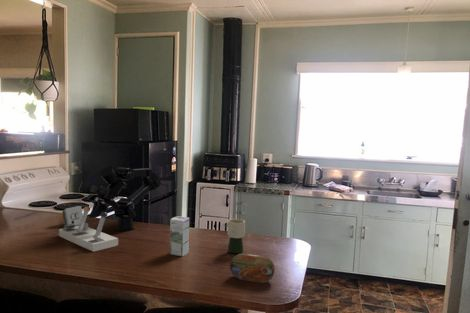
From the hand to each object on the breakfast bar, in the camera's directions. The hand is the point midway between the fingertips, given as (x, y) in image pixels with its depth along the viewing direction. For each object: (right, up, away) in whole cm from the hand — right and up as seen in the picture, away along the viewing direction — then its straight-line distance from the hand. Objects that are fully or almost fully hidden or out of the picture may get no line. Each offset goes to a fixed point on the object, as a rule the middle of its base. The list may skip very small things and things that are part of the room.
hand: (90, 217), depth 155 cm
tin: (+70, -14, -38) cm, 81 cm away
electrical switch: (-18, -8, +22) cm, 29 cm away
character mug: (+64, -13, -12) cm, 66 cm away
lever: (+8, -6, -12) cm, 16 cm away
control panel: (0, -10, -2) cm, 10 cm away
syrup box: (+42, -12, -15) cm, 46 cm away
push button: (-4, -6, +3) cm, 8 cm away
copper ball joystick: (-3, -5, -3) cm, 7 cm away
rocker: (-11, -5, +3) cm, 12 cm away
